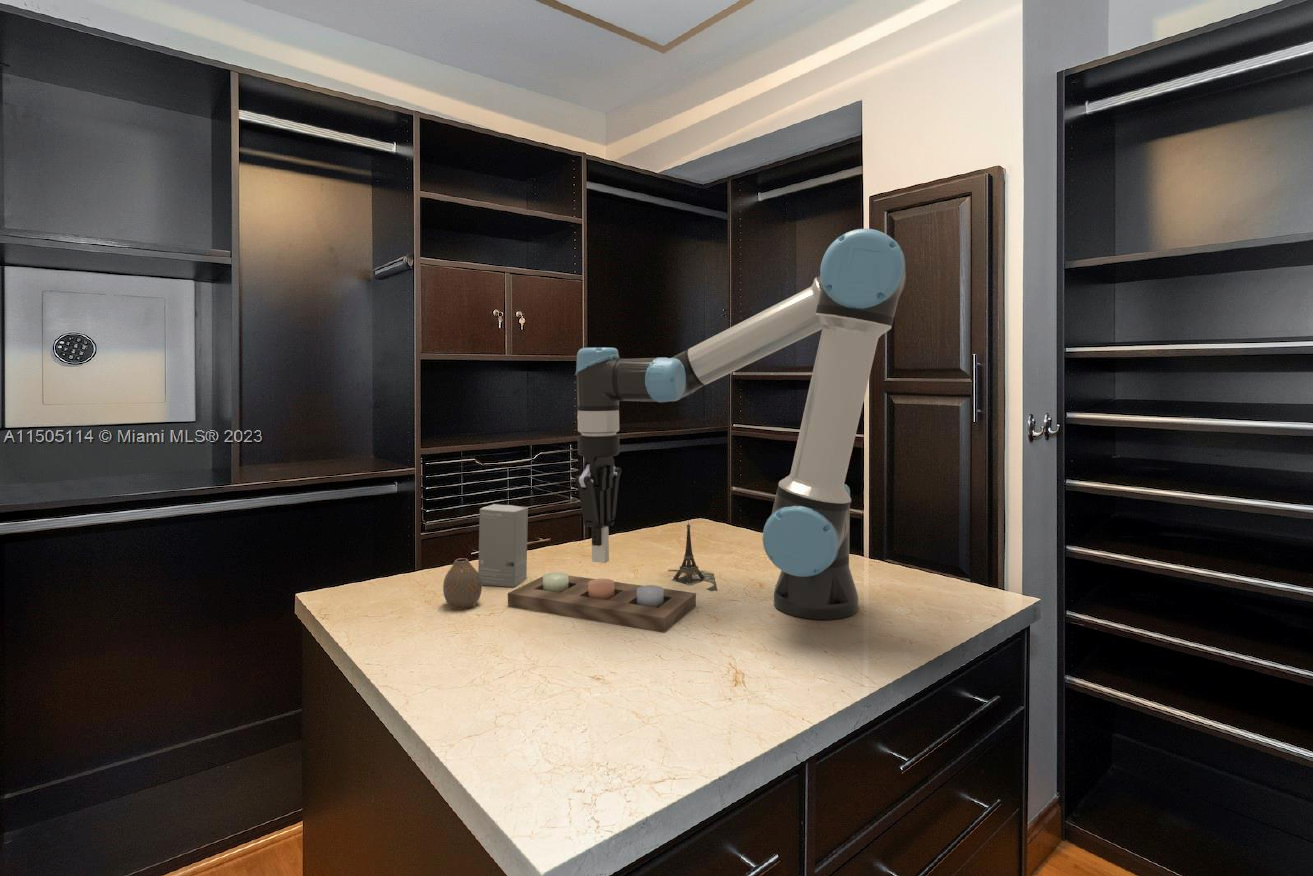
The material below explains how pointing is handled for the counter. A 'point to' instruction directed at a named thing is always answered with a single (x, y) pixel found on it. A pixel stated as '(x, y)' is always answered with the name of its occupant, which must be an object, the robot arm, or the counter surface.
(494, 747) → the counter surface
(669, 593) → the button board
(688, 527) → the eiffel tower figurine
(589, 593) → the button terracotta
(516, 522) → the skincare box
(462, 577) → the vase
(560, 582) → the button sage
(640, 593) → the button slate
